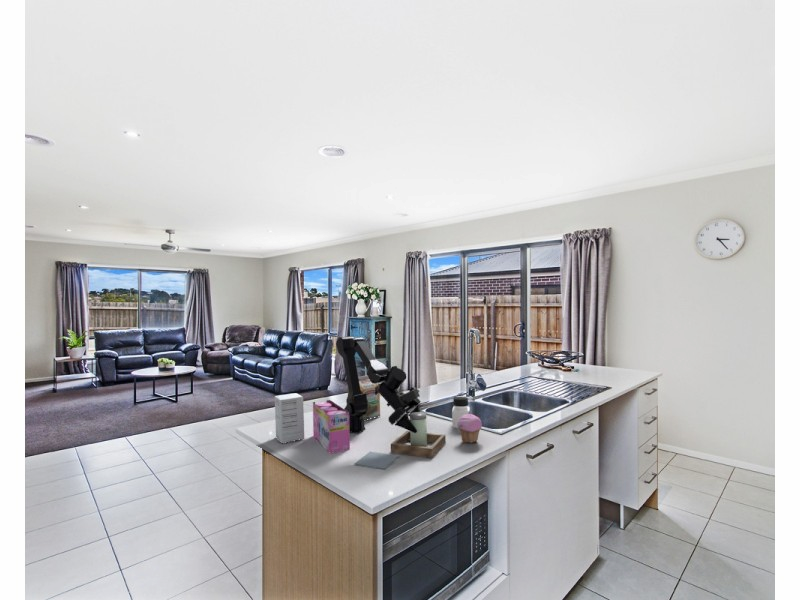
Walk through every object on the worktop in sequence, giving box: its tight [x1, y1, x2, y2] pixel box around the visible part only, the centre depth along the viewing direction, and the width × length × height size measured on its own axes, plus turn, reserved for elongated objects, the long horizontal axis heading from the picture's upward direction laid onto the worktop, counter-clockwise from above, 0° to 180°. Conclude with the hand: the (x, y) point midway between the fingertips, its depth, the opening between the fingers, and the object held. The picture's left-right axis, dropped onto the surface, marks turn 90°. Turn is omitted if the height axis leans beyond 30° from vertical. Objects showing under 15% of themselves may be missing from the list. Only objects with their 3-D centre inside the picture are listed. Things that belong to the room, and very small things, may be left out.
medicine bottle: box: [451, 395, 471, 429], centre depth 169 cm, size 7×7×12 cm
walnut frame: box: [390, 430, 447, 459], centre depth 144 cm, size 15×15×3 cm
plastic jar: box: [409, 411, 428, 447], centre depth 144 cm, size 6×6×12 cm
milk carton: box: [347, 374, 381, 421], centre depth 186 cm, size 11×11×19 cm
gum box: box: [312, 399, 351, 454], centre depth 153 cm, size 24×8×14 cm, turn 27°
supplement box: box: [274, 392, 305, 444], centre depth 158 cm, size 10×9×17 cm
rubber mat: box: [353, 451, 400, 470], centre depth 133 cm, size 11×11×1 cm
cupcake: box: [458, 413, 483, 444], centre depth 149 cm, size 9×9×10 cm
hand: (420, 428), depth 144 cm, fingers open, 9 cm apart
